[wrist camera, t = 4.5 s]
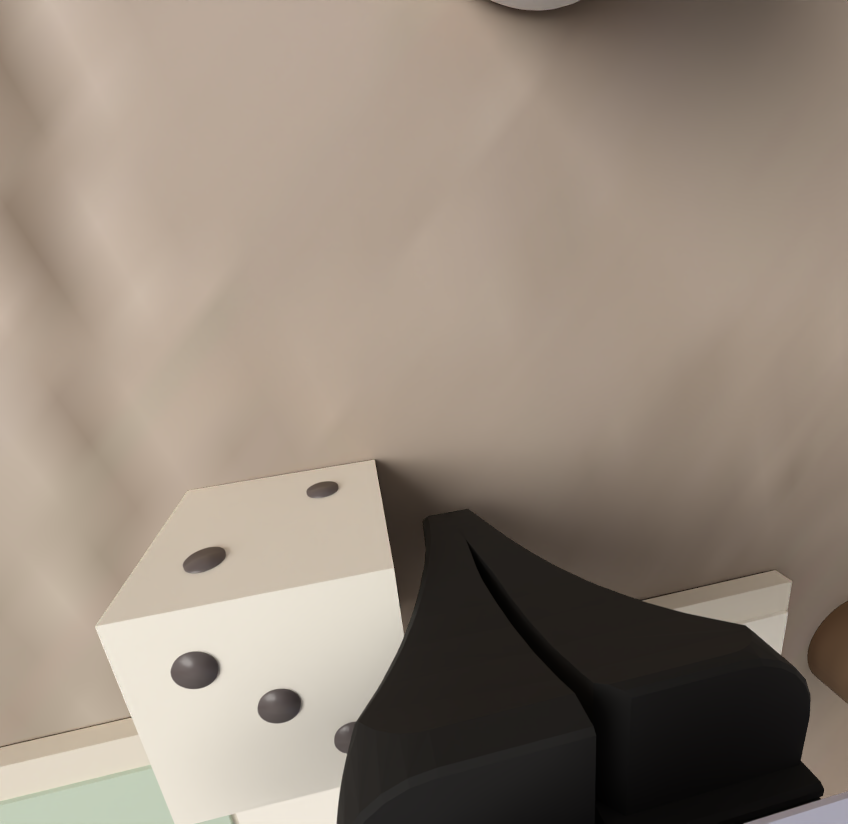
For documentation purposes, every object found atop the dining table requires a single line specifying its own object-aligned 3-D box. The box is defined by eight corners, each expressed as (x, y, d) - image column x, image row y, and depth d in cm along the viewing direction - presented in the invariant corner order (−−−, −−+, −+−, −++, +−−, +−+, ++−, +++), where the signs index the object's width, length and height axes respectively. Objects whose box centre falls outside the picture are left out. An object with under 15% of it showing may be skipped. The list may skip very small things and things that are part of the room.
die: (398, 605, 13) (426, 768, 9) (231, 639, 13) (175, 831, 8) (376, 457, 12) (397, 566, 7) (186, 488, 11) (92, 626, 7)
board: (748, 744, 18) (764, 763, 17) (70, 938, 15) (58, 971, 14) (776, 570, 16) (795, 583, 15) (-34, 755, 12) (-55, 783, 11)
